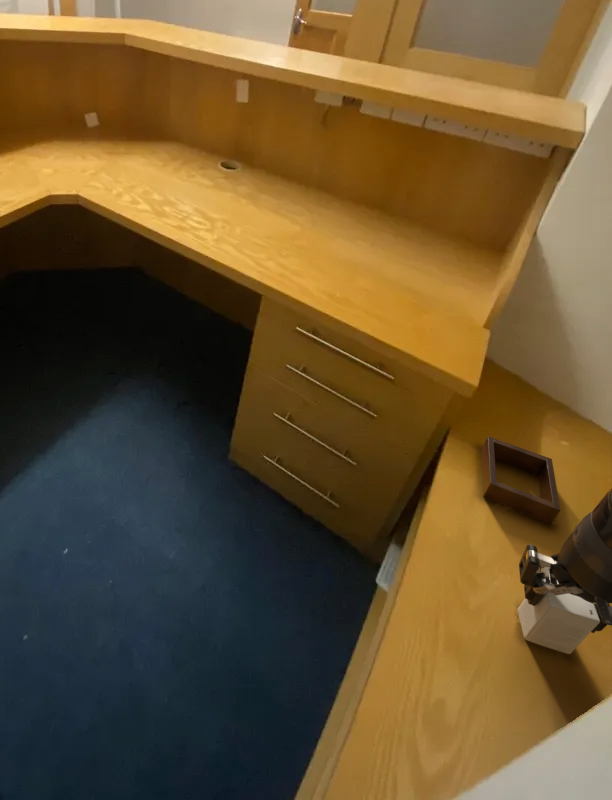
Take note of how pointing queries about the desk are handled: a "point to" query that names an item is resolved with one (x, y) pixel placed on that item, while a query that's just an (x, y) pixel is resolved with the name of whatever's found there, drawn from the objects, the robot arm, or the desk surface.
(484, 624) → the desk surface
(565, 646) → the cosmetic box
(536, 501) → the box
